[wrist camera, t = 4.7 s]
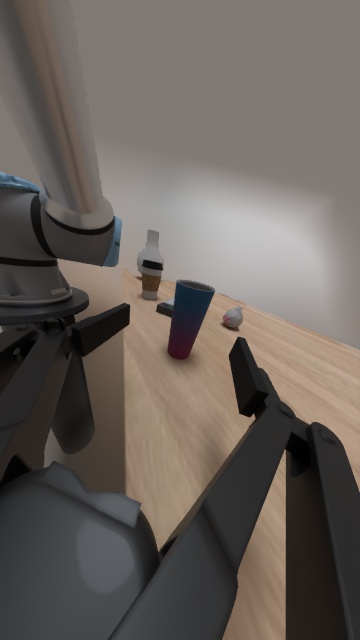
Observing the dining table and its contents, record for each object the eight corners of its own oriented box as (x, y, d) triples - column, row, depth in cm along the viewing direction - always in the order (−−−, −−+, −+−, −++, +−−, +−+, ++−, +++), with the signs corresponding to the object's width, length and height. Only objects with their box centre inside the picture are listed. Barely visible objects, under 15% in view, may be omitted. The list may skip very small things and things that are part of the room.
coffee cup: (137, 298, 51) (140, 258, 45) (141, 293, 59) (143, 257, 52) (158, 302, 53) (164, 263, 46) (159, 296, 60) (164, 262, 54)
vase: (135, 275, 89) (137, 228, 77) (157, 278, 96) (163, 235, 84) (137, 281, 76) (141, 225, 64) (163, 284, 83) (171, 234, 71)
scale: (156, 311, 45) (157, 302, 43) (173, 302, 57) (174, 295, 55) (193, 325, 41) (195, 316, 39) (203, 312, 53) (205, 305, 51)
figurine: (216, 321, 48) (223, 301, 44) (231, 322, 50) (239, 303, 47) (226, 330, 43) (236, 309, 39) (242, 331, 45) (252, 310, 41)
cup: (161, 341, 30) (172, 277, 24) (187, 341, 33) (204, 283, 26) (166, 363, 25) (183, 287, 18) (197, 361, 27) (223, 293, 20)
